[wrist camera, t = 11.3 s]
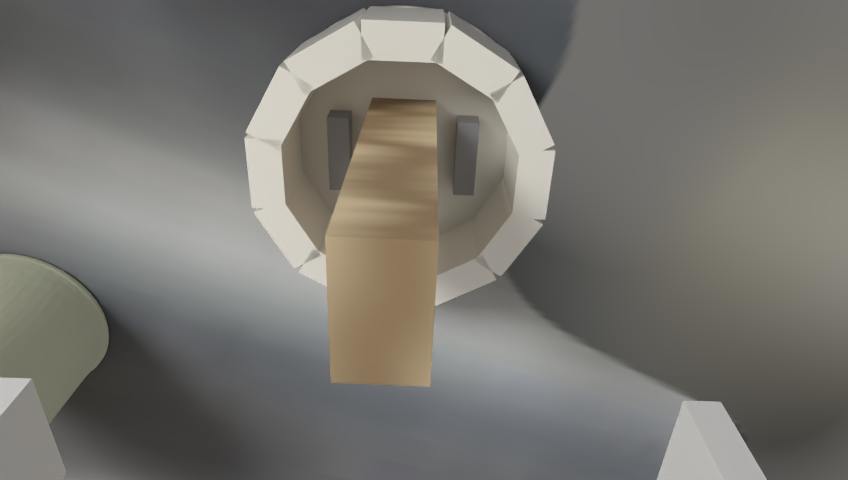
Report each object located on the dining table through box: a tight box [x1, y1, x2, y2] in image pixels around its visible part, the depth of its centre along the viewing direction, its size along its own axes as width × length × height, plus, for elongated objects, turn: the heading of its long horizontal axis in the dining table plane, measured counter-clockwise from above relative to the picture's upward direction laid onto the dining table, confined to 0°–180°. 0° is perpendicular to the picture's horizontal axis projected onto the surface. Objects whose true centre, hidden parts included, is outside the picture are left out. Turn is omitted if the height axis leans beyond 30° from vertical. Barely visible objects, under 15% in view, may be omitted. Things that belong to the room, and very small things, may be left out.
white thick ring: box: [244, 5, 556, 306], centre depth 28 cm, size 13×13×5 cm
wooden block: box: [325, 97, 439, 387], centre depth 23 cm, size 3×5×14 cm, turn 177°
